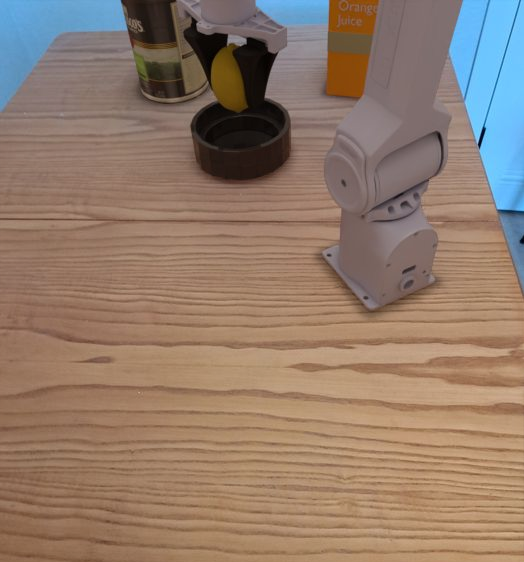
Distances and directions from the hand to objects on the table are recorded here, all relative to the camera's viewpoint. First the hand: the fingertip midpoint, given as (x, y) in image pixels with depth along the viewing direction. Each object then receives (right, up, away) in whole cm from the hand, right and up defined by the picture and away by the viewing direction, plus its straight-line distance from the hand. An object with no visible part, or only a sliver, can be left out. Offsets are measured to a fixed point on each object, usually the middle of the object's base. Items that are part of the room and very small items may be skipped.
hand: (237, 95), depth 67 cm
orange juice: (+17, +9, +16) cm, 25 cm away
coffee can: (-10, +9, +18) cm, 23 cm away
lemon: (0, -1, +2) cm, 2 cm away
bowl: (+1, -5, +6) cm, 8 cm away
